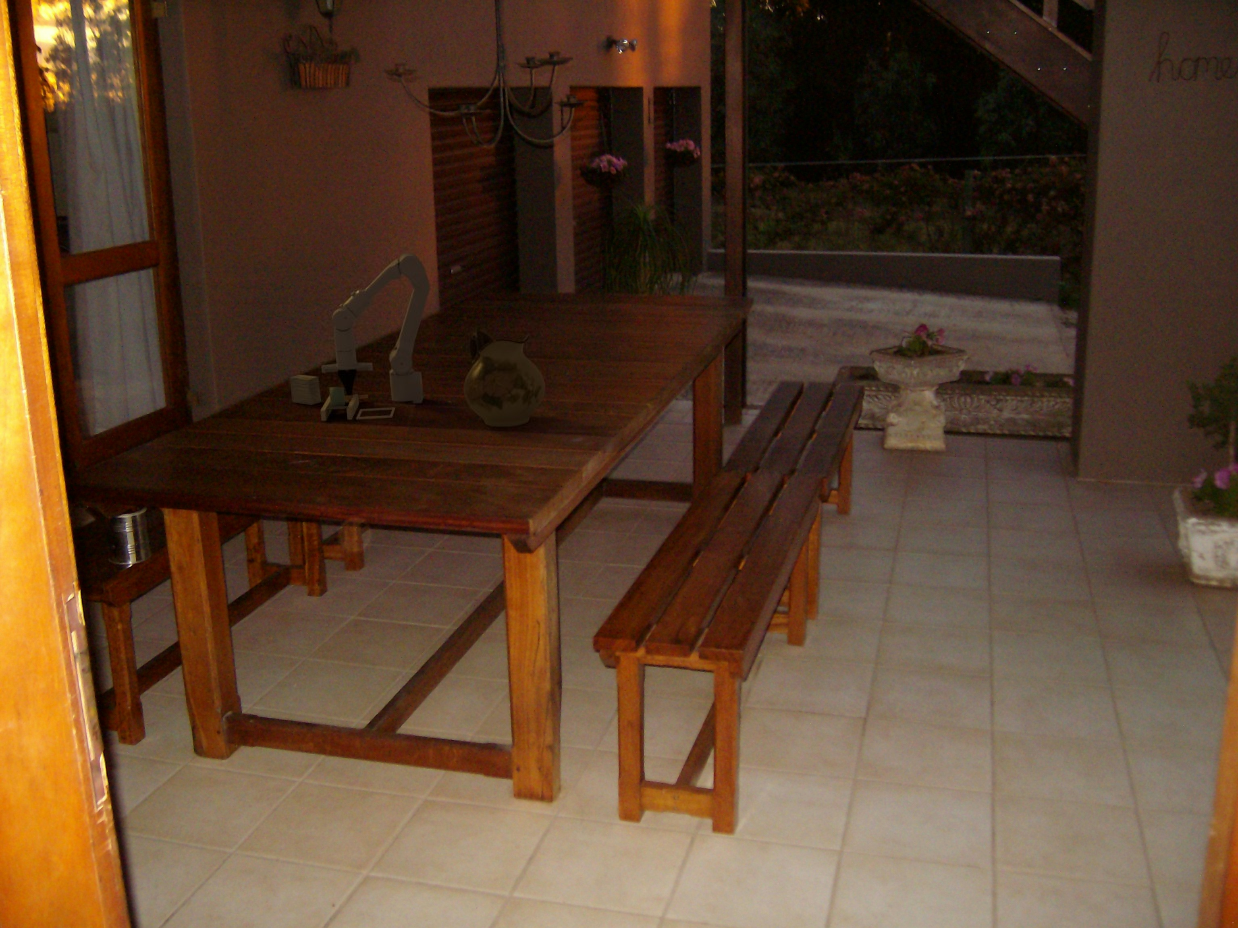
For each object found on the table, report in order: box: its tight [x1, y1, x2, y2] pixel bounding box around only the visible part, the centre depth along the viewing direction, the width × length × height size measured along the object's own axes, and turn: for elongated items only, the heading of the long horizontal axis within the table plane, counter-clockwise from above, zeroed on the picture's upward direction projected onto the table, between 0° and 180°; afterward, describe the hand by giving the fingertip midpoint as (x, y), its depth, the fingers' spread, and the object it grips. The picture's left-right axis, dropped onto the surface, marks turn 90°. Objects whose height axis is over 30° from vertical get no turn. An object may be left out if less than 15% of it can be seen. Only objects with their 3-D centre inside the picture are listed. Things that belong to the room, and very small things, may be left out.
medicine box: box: [289, 374, 322, 406], centre depth 368 cm, size 8×4×9 cm, turn 58°
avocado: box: [329, 386, 346, 407], centre depth 351 cm, size 4×4×6 cm
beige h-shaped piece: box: [320, 393, 360, 422], centre depth 355 cm, size 8×18×4 cm, turn 5°
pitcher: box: [463, 329, 546, 428], centre depth 340 cm, size 22×24×25 cm
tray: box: [355, 406, 396, 420], centre depth 353 cm, size 10×10×1 cm
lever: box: [327, 394, 369, 410], centre depth 358 cm, size 9×19×4 cm, turn 5°
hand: (349, 395), depth 366 cm, fingers closed, pressing on lever
